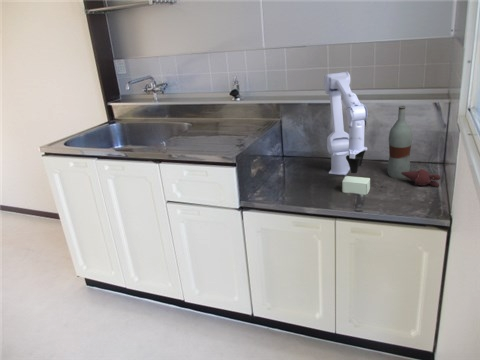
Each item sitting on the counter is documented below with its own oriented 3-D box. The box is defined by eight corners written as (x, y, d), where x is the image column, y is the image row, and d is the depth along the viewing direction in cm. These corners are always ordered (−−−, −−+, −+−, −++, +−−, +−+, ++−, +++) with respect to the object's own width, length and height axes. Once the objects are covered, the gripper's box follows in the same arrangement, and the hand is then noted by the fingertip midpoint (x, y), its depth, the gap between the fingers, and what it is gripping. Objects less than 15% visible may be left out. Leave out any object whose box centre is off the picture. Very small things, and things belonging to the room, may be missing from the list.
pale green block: (345, 186, 167) (345, 175, 165) (369, 188, 163) (370, 178, 161) (342, 192, 162) (342, 181, 161) (367, 194, 158) (367, 183, 156)
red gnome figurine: (398, 171, 160) (438, 180, 152) (404, 161, 164) (443, 169, 156) (397, 184, 164) (436, 194, 156) (403, 174, 169) (441, 183, 160)
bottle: (413, 178, 168) (418, 107, 156) (391, 180, 168) (394, 110, 156) (405, 169, 176) (409, 102, 165) (384, 171, 177) (386, 105, 165)
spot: (349, 186, 167) (349, 185, 167) (366, 187, 164) (366, 187, 164) (345, 193, 161) (345, 192, 161) (362, 195, 158) (363, 194, 158)
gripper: (363, 143, 146) (362, 177, 151) (371, 131, 157) (370, 163, 163) (343, 142, 149) (344, 175, 154) (353, 130, 161) (352, 162, 166)
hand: (356, 169), depth 159 cm, fingers open, 7 cm apart
